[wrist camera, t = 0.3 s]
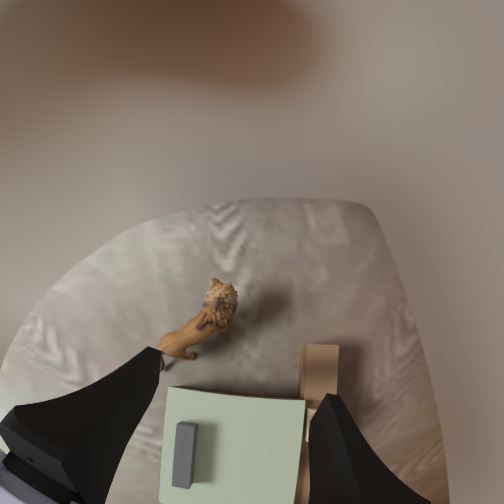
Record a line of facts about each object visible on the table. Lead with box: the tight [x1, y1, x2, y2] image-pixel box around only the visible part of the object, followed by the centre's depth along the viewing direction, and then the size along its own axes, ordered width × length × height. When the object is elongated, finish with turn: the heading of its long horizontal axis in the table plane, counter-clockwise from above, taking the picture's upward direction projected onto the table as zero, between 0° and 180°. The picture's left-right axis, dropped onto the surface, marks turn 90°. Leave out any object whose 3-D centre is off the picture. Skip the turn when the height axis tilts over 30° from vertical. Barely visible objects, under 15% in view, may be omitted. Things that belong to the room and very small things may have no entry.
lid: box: [159, 386, 305, 504], centre depth 29 cm, size 16×16×4 cm
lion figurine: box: [157, 278, 238, 372], centre depth 37 cm, size 15×5×9 cm, turn 137°
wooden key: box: [304, 408, 318, 442], centre depth 31 cm, size 4×3×2 cm
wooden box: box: [171, 344, 339, 504], centre depth 34 cm, size 23×20×5 cm
